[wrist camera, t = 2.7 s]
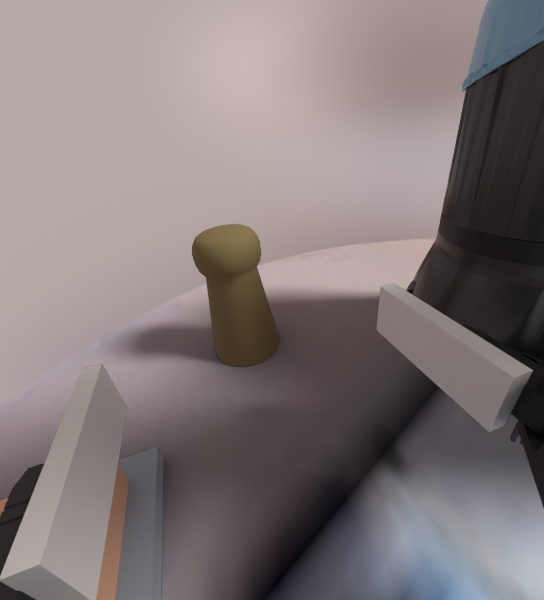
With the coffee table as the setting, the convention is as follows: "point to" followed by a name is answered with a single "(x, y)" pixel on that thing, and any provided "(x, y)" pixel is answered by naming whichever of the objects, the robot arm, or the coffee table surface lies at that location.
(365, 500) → the coffee table surface
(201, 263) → the cork
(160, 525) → the pallet plate
